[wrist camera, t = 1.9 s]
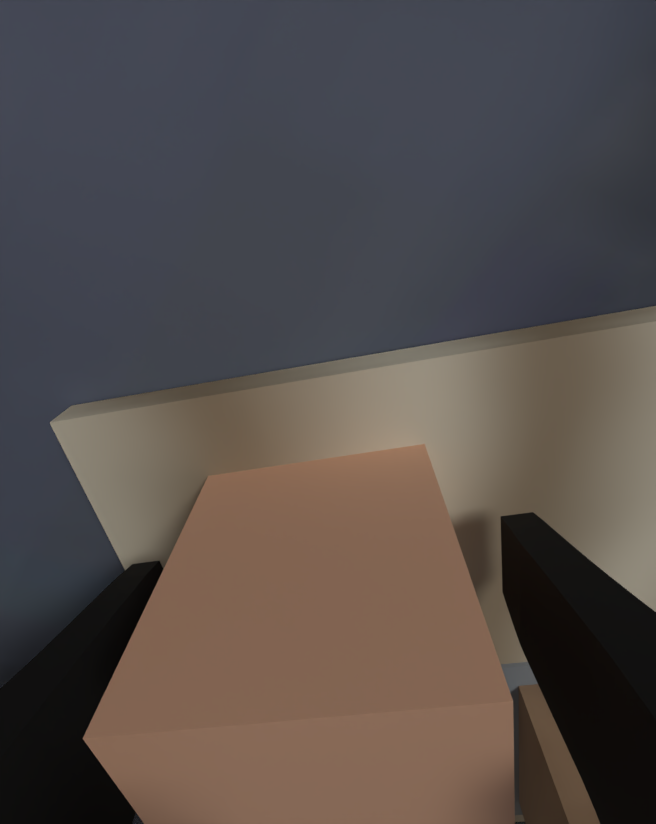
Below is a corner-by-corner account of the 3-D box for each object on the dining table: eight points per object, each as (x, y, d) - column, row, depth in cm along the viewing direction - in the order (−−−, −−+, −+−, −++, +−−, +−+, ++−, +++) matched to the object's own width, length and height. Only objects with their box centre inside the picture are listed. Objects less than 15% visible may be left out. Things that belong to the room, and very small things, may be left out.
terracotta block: (424, 443, 9) (514, 701, 4) (442, 603, 11) (516, 899, 6) (208, 475, 9) (82, 737, 5) (261, 623, 11) (208, 912, 7)
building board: (965, 253, 8) (1038, 259, 7) (753, 777, 15) (776, 810, 14) (71, 405, 10) (46, 424, 9) (265, 809, 17) (261, 840, 16)
